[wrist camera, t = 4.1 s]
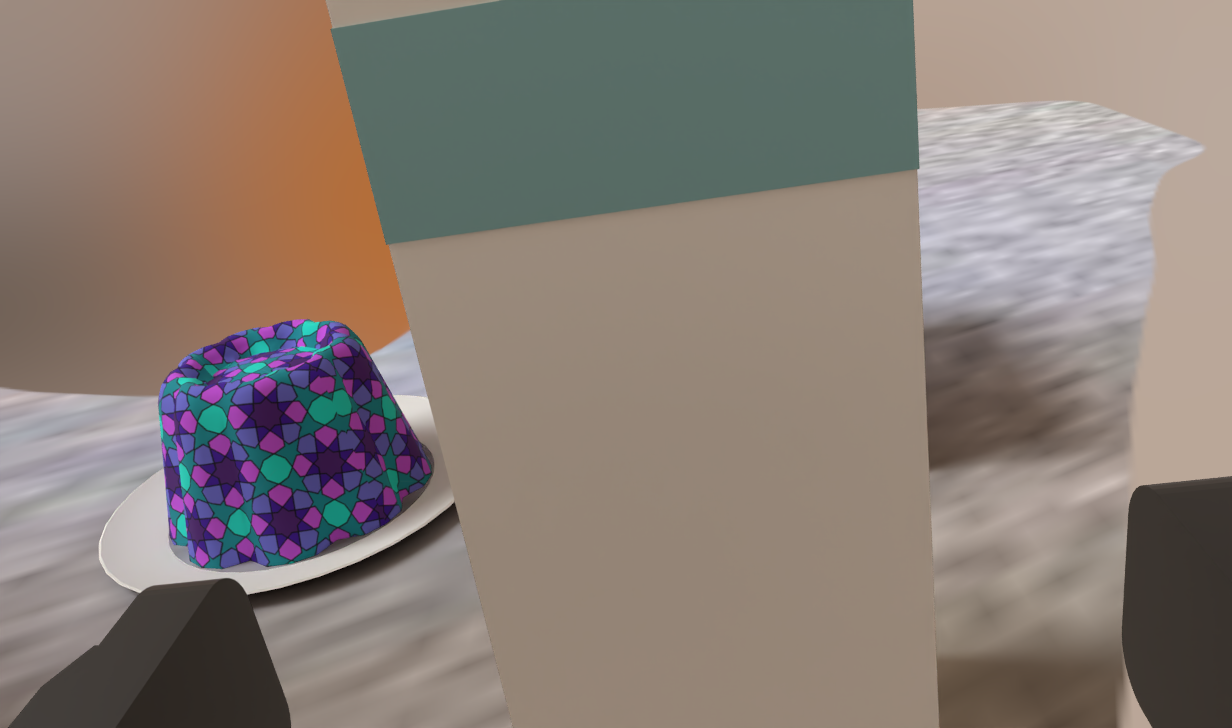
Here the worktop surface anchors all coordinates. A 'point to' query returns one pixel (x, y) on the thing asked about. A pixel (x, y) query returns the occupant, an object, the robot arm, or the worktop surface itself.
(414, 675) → the worktop surface
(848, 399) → the milk carton
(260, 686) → the robot arm
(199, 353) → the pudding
